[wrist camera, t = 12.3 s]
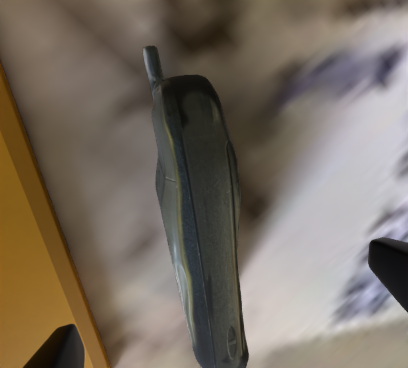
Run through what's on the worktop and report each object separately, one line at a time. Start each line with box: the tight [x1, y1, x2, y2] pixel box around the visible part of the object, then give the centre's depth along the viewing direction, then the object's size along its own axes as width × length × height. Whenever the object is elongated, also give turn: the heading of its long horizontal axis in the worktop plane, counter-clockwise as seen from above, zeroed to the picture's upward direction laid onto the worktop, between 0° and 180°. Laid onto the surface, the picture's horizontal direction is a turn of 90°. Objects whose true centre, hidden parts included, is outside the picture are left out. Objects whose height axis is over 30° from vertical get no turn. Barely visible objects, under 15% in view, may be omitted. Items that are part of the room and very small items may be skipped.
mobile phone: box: [143, 46, 249, 368], centre depth 13 cm, size 5×3×15 cm
